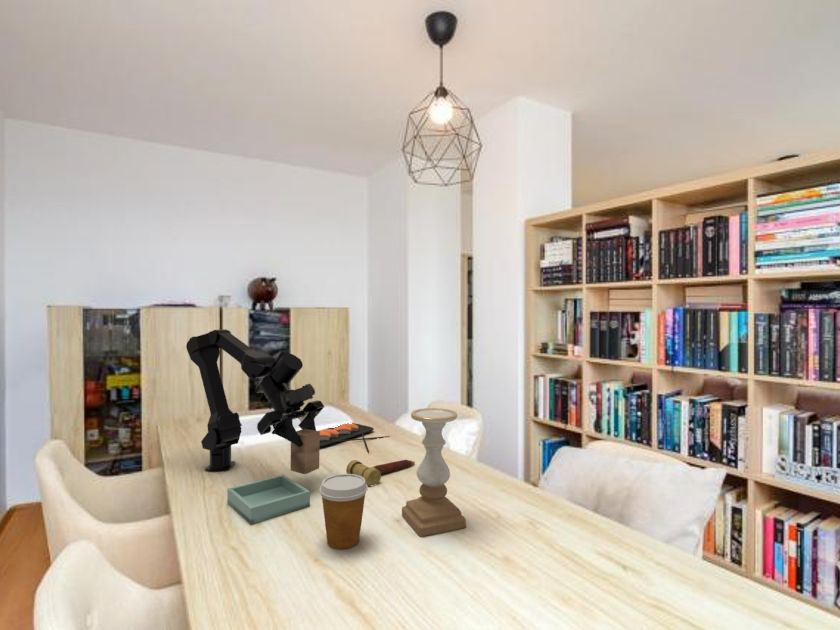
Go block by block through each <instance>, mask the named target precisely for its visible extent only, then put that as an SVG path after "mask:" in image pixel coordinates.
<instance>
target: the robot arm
mask: <svg viewBox="0 0 840 630" xmlns="http://www.w3.org/2000/svg"><path fill="white" fill-rule="evenodd" d="M185 348H186V351H187V353H188V356H189V359H190V360H191V361H192V362H193V363H194V364H195V365H196V366H197V367H198V369H199V374H200V378H201V380H202V384H203V389H204V393H205V398H206V401H207V405H208V409H209V413H210V415H209V419H208V422H207V426H206V427H207V433H206V435H205V436H204V437H203V438H202V440H201V442H200V443H201V447H202V449H204V450H208V451H209V464H208V466H207V467H206V468H204V469H205V470H204V471H205V472H211V471H213V472H218V471H221V472H222V471H230V469H231V468H232V467H233V466H234V465H235V464H236V460H235V461H234V460H232V445H236V444H239V441H240V437H241V433H242V426H243V425H242V423H241V420H240V415H239V413H238V412H233V411H232V410H231V409H230V408H229V404H228V400H227V395H226V393H225V392H226V391H225V389H224V385H223V381H222V377H221V373H220V370H219V366H218V360H219V357H220V354H221V351H220V350H222V351H224V352H225V353H226V354H228V355H229V356H230V357H232V358H233V359H234V360H236V362H238V363H239V364H240V368H241V370H242V371H243V373H244V374H245V375H246V376H247V377H248V378H249V379H252V380H253V379H258V378H259V379H260V378H261V380H260V381H257V382H256V386H255V390H254V391H255V393H263V395H264V396H265V397H266V399H267V401H268V405H267V407H268V409H269V410H272V409H273V411H269V412H265V414H264V415H263V416H262V418H261V419H260V420H259V421H258V422H257V424H256V425H257V427H256V429H257V431H258V433H259V434H260V436H262V435H266V434H269V433H271V434H272V435H276V436H278V437H280V438H283V439H285V440H286V441H288V442H290V443H291V442H292V443H293V444H295V445H297V446H299V447H301V446H302V445H303V443H302V441H301V439H300V437H299V435H298V434H297V432H296V431H297V430H296V428H295V427H294V425H293V423H294V422H293V420H296V419H298V421H300V422H299V424H298V427H299V428H300V430H302V429H310V430H316V431H317V429H316V428H317V427H316V423H315V418H316V417H317V416H318V415H319V414H320V413H321V411H322V410H323V409H324V408H325V405H324V404H323V402H322V401H321V400H317V399H316V400H314V401H309V402H307V404H306V405H305V401H308V400H312V399H313V398H314V397H313V396H314V395H316V391H315V388H314V387H313V385H312V384H311V383H307V384H305V385H302V386H301V387H299V388H296V389H289V388H288V386H287V385H286V384H289V383H291V381H292V380H294V378H295V377H296V376H297V374H298V373H299V372H300V371H301V369H302V368H303V361H302V359H300V358H299V357H297V356H296V355H294V354H293V353H290V352H289V350H281V352H280V353H279V355H278V356H277V358H276V359H275V358H274V357H273V356H272V355H271V354H270V355H269V354H268V353H265V352H261V351H258V350H255V349H252V348H251V347H250V346H248V345H247V344H246V343H244V342H243V341H242V340H240V339H239V338H238V337H236V336H235V335H234V334H232V332H231V331H230V330H228V329H213V330H211V331H209V332H207V333H204V334H201V335H197V336H191V337H190V338H189V340H188V341H187V342H186V347H185ZM304 405H305V406H304ZM303 406H304V407H303ZM301 407H303V408H301ZM271 426H272V427H271ZM272 428H273V430H272Z"/></svg>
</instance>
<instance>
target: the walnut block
mask: <svg viewBox="0 0 840 630" xmlns="http://www.w3.org/2000/svg"><path fill="white" fill-rule="evenodd" d="M296 432H297V434H298V435H299V437H300V439H301V441H302V443H303V445H302V446H301V447H299V446H297V445H295V444H293V443H292V442H290V471H291V472H295V473H299V474H303V475H307V474H310V473H312V472H314V471H317V470H318V469H320V430H317V429H316V430H310V429H300V430H296Z"/></svg>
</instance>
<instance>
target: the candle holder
mask: <svg viewBox="0 0 840 630" xmlns="http://www.w3.org/2000/svg"><path fill="white" fill-rule="evenodd" d="M410 417H411V419H412V420H414V421H417V422H421V425H422V426H423V428H424V429H425V436H424V438H423V439H422V441H421V443H422V445H423V447H424V450H425V455H424V458H423V459H422V461H421V462H420V463H419V466H418V467H417V470H416V477H417V479H418V481H419V482H420V483H422V484H421V485H420V487H419V494H420V497H419V496H418V498H416V499H410V500H407V501H406V502H405V506H402V507H401V516H402V518H403V519H404V520H405V522H406V523H407V524H408V525H409V526H410V527H411V529H412V530H413V531H414V532H415V534H417V535H418V537H421V538H423V537H428V536H434V535H439V534H443V533H448V532H453V531H457V530H458V531H459V530H463V529H465V528H467V520H466V518H465V516H463V515H462V511H461V510H460V509H459V507H457V505H456V504H454V503H453V502H452V501H451V500H450V498H448V497H446V495H448V494H447V493H448V489H447V486H446V485H445V484H446V483H447V482H448V481H449V479H450V477H451V471H450V468H449V466H448V464H447V462H446V461H445V459H444V456H443V454H442V450H443V449H444V446H445V445H447V444H446V442H447V441H446V440H445V438H444V437H443V429H444V428H445V426H446V425H447V423H451V422H455V421H456V420H457V419H458V413H457V412H456V411H455V410H451V409H448V408H441V407H440V408H438V407H437V408H436V407H427V408H419V409H415V410H412V411H411V413H410Z"/></svg>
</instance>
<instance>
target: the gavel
mask: <svg viewBox="0 0 840 630" xmlns="http://www.w3.org/2000/svg"><path fill="white" fill-rule="evenodd" d="M415 464H416V462H415V461H414V460H411V459H409V460H408V459H402V460H398V461H393V462H388V463H382V464H378V465H375V466H372V467H371V466H367V465H365V464H363V463H362V462H361V461H359V460H357V459H353V460H351V461H349V462H348V464H347V466H346V469H345V471H346V474H355V475H359V476H362V477H363V478H364V479H365V481H366V484H367V486H368V487H372V486H371V485H374V484H377V485H378V484H379V483H380V481H381V477H382V475H383V474H389V473H392V472H397V470H398V471H401V469H402V470H405V468H406V469H409V468H410V467H412V466H413V465H415ZM374 486H375V485H374Z"/></svg>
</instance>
